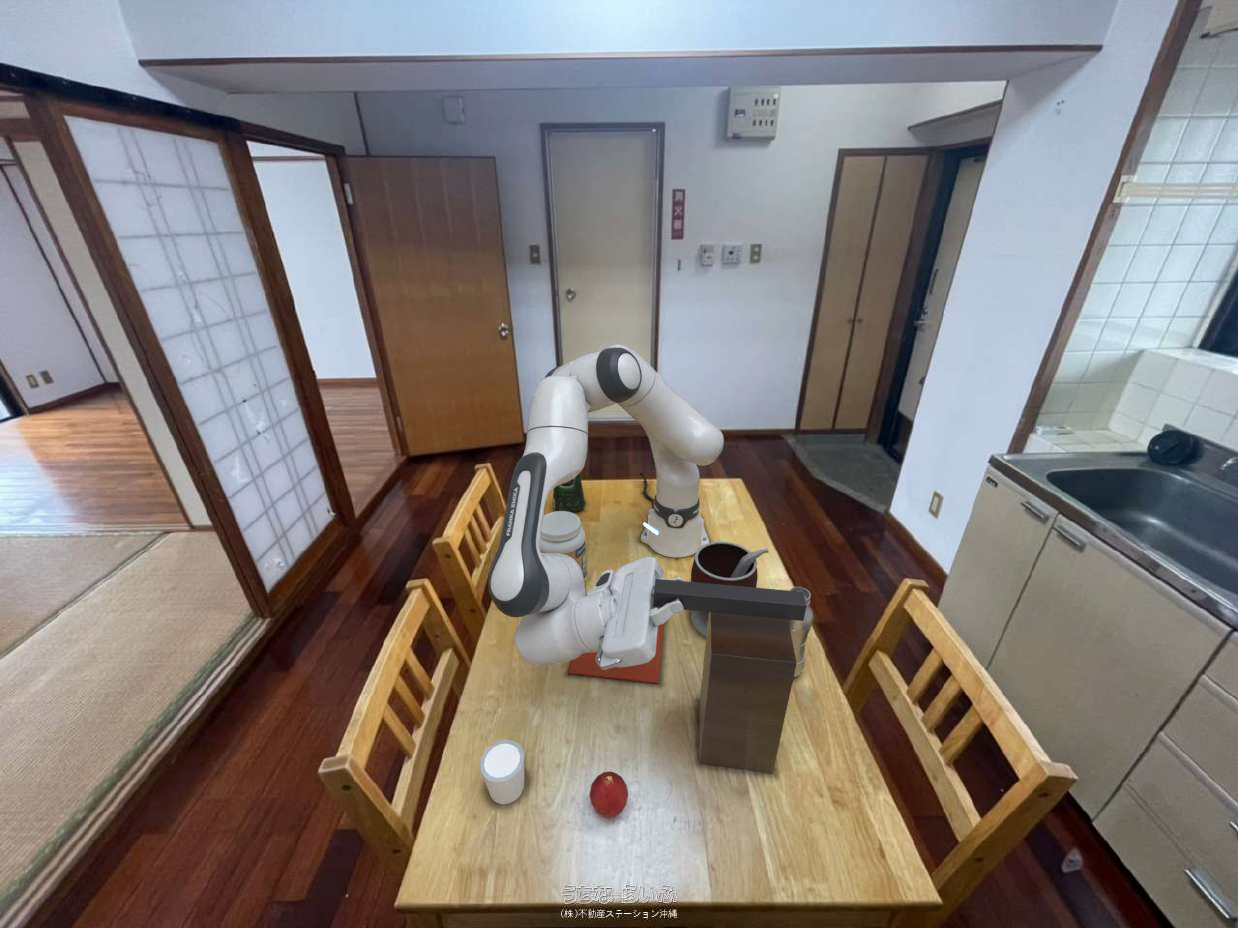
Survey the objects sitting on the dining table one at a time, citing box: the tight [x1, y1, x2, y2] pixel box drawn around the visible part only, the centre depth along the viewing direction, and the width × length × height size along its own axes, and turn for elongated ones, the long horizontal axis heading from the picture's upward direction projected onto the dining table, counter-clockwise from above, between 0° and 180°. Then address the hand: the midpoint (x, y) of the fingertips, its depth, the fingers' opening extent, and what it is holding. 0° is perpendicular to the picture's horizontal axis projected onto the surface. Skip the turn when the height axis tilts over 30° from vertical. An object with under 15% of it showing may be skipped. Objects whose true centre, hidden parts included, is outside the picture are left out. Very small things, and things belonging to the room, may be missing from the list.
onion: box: [589, 771, 629, 818], centre depth 79 cm, size 6×6×8 cm
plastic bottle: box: [788, 586, 815, 678], centre depth 99 cm, size 6×7×20 cm
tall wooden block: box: [699, 612, 797, 774], centre depth 85 cm, size 12×12×26 cm
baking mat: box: [568, 607, 665, 685], centre depth 112 cm, size 22×18×1 cm
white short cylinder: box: [479, 739, 525, 805], centre depth 82 cm, size 7×7×7 cm
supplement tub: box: [539, 510, 588, 581], centre depth 125 cm, size 12×12×17 cm
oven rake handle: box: [653, 579, 807, 621], centre depth 77 cm, size 3×22×3 cm, turn 82°
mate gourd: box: [690, 540, 769, 638], centre depth 111 cm, size 16×14×20 cm
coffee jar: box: [552, 471, 586, 513], centre depth 154 cm, size 10×8×19 cm
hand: (682, 592), depth 78 cm, fingers closed on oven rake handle, 3 cm apart
